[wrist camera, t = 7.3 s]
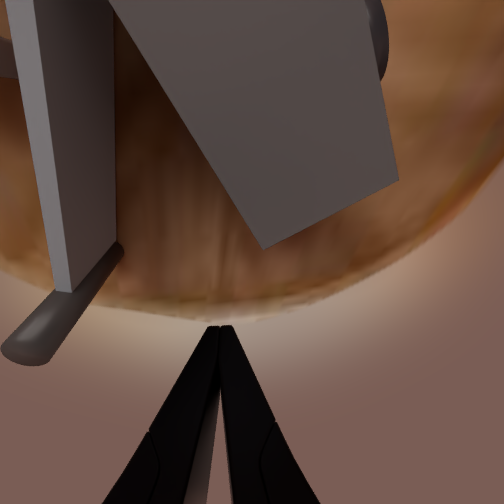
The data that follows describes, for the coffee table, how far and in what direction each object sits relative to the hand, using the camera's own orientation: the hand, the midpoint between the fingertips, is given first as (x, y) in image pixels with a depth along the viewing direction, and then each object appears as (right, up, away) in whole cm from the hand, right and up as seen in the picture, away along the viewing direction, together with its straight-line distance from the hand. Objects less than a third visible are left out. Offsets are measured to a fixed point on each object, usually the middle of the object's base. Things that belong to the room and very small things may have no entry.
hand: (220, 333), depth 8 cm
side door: (-8, +9, +8) cm, 15 cm away
